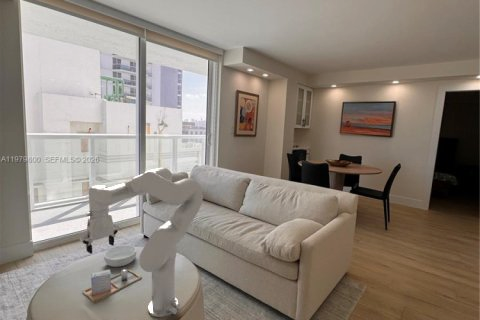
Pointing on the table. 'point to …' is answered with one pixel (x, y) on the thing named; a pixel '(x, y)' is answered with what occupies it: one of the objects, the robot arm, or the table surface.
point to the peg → (124, 275)
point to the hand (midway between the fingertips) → (101, 248)
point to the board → (113, 286)
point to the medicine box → (101, 282)
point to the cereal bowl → (120, 255)
